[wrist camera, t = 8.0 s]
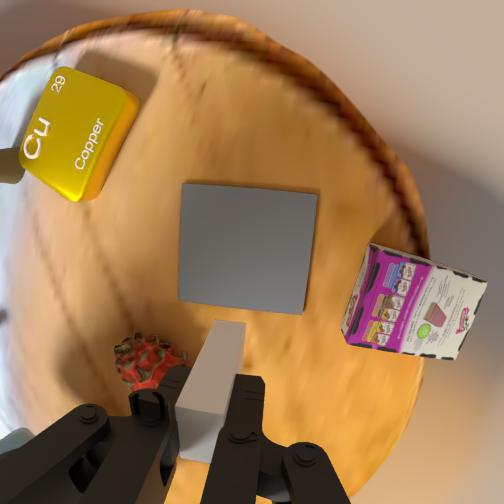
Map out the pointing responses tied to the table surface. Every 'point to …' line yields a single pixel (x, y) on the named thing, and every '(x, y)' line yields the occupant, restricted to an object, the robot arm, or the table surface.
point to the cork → (10, 166)
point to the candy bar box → (411, 305)
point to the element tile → (77, 133)
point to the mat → (245, 247)
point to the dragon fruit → (145, 361)
